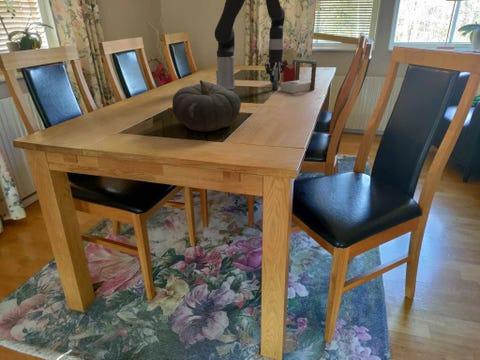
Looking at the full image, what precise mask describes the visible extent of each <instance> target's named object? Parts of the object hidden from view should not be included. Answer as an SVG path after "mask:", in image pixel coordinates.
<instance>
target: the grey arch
mask: <svg viewBox="0 0 480 360" xmlns="http://www.w3.org/2000/svg"><path fill="white" fill-rule="evenodd" d="M293 62H295V67H296V71H295V80H300V72H301V71H300V70H301V64H307V65H311V73H310V74H311V75H310V82H311V85H310V90H309V91H311V92H312V91H315V89H316V87H315V86H316V73H317V63H318V61H317V60H314V59H313V60H312V59H304V58H294V59H293Z"/></svg>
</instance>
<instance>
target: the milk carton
mask: <svg viewBox="0 0 480 360" xmlns="http://www.w3.org/2000/svg"><path fill="white" fill-rule="evenodd" d="M294 49H295V47H292V48H288V49H283V57H282V58H283V59H282V61H283V62H286V65H285V68H284V71H283V73H281V74H280V81H279V82H280V83H279V84H281V83H283V82H289V81H295V71H296V62H293V59H295V55H294Z"/></svg>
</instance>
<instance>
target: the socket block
mask: <svg viewBox="0 0 480 360" xmlns="http://www.w3.org/2000/svg"><path fill="white" fill-rule="evenodd" d="M310 85H311V81H306V80H300V79H299V80H295V81H289V82H283V83H280V91H282V92H285V93H291V94H297V93H301V92H307V91H311V90H310Z"/></svg>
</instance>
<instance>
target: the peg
mask: <svg viewBox="0 0 480 360" xmlns="http://www.w3.org/2000/svg"><path fill="white" fill-rule="evenodd" d="M272 69H273V68H272ZM278 85H279V82H278V67H276V69H275V71H274V82H273V83H272V82H271V90H272V91H278V90H279V89H278V88H279V86H278Z"/></svg>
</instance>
